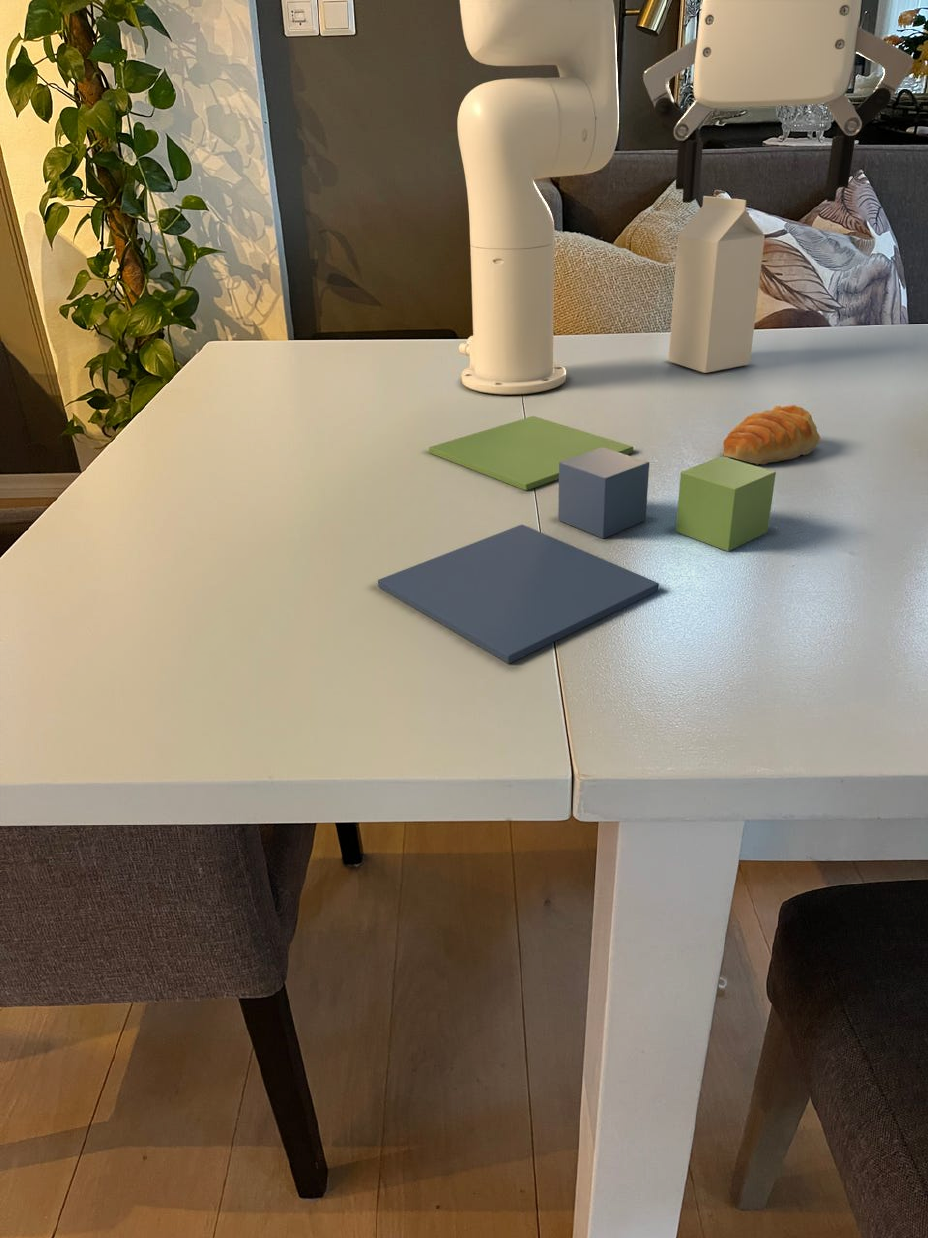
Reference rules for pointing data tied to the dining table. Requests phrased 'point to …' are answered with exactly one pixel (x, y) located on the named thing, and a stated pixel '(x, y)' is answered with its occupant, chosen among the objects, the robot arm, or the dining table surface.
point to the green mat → (523, 450)
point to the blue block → (603, 491)
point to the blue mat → (517, 591)
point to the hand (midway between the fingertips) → (758, 200)
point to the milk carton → (716, 287)
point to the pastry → (773, 436)
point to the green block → (725, 502)
